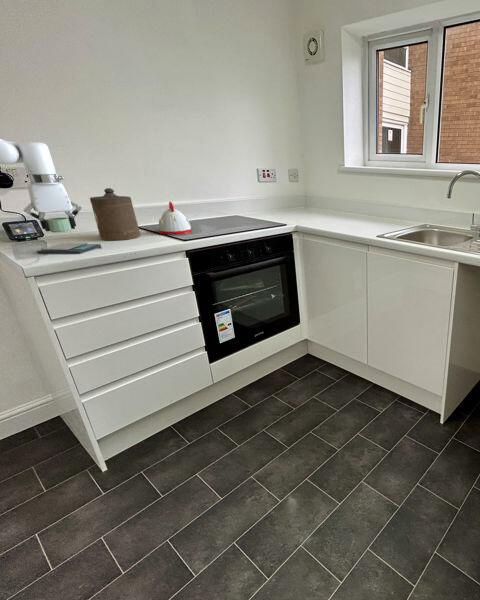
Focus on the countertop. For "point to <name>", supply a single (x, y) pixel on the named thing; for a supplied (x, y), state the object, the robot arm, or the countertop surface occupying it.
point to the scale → (69, 248)
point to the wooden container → (115, 216)
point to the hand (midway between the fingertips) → (60, 229)
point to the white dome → (173, 222)
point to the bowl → (59, 224)
